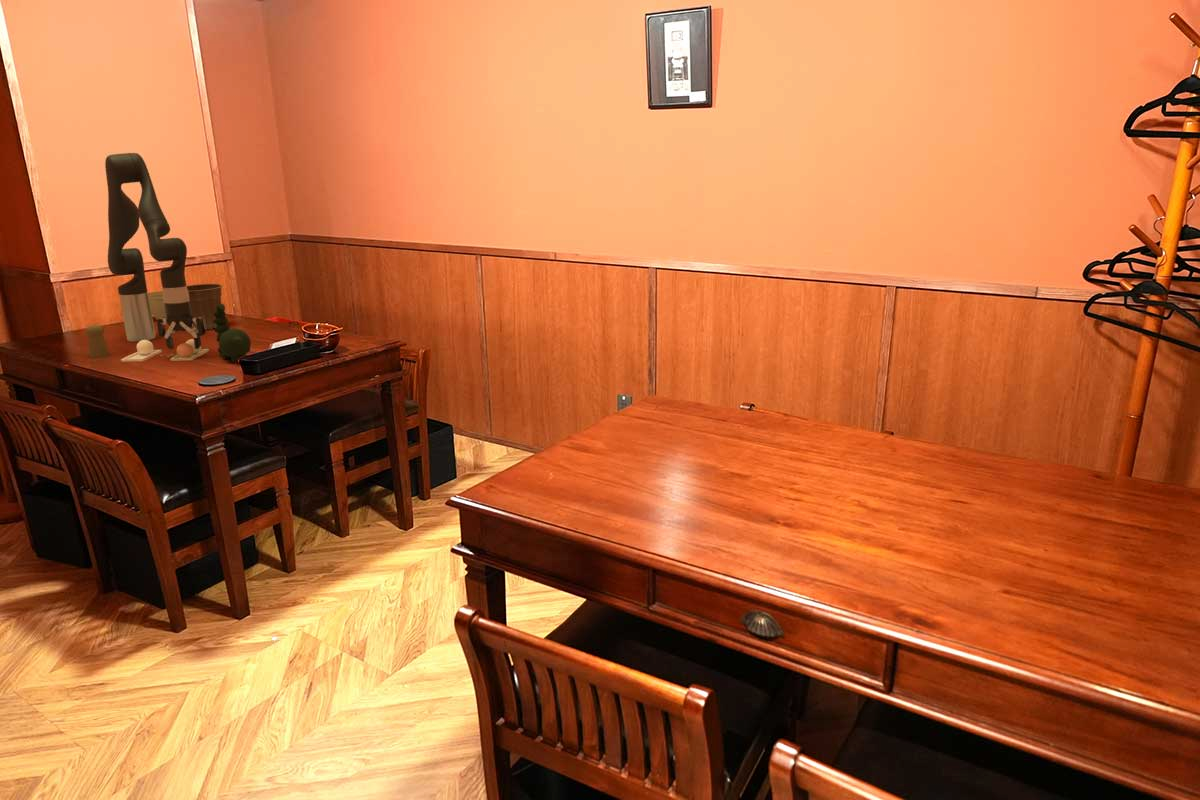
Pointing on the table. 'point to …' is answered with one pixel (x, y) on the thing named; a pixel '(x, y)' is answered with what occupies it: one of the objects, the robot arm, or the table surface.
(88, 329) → the olive green waisted cylinder
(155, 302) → the planter bowl
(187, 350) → the ball
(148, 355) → the egg tray
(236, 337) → the toy figurine
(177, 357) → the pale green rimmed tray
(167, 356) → the card
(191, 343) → the ball
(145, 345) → the ball
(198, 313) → the plant pot
